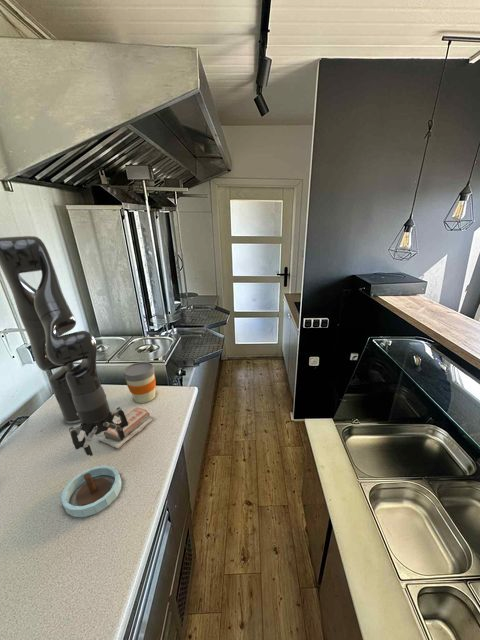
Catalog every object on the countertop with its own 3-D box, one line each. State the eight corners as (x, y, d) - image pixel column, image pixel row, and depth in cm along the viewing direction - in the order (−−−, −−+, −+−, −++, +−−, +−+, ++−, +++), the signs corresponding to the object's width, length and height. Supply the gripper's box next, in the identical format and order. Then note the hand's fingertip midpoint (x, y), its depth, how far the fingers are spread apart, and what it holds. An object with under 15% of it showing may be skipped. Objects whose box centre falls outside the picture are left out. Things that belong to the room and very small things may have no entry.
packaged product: (134, 403, 118) (152, 409, 114) (136, 413, 120) (154, 419, 117) (95, 431, 104) (114, 439, 100) (99, 441, 106) (118, 449, 102)
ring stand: (73, 492, 87) (65, 475, 83) (105, 475, 92) (98, 458, 89) (81, 513, 81) (73, 495, 77) (114, 493, 86) (108, 475, 83)
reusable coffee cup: (127, 395, 132) (119, 367, 126) (154, 386, 139) (148, 359, 132) (134, 408, 123) (126, 379, 116) (163, 398, 130) (157, 369, 123)
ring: (59, 492, 87) (56, 485, 85) (111, 464, 96) (109, 457, 95) (72, 528, 77) (68, 520, 75) (128, 493, 86) (126, 486, 85)
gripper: (113, 386, 85) (126, 429, 92) (57, 407, 76) (76, 452, 83) (122, 396, 80) (135, 440, 87) (64, 420, 71) (83, 467, 78)
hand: (106, 446), depth 85 cm, fingers open, 8 cm apart
